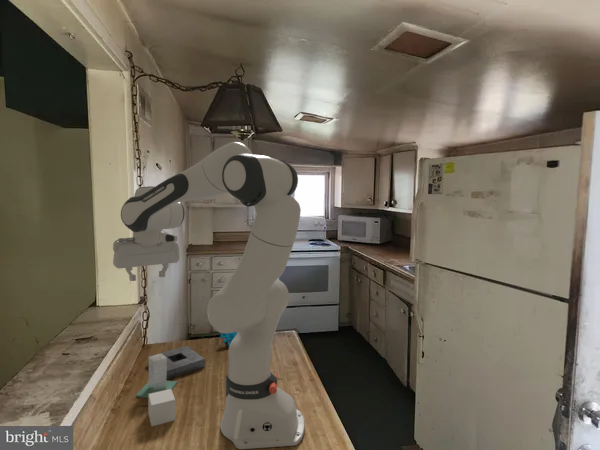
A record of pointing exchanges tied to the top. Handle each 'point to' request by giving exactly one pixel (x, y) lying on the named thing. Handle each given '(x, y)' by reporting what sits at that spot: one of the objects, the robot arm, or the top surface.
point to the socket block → (182, 361)
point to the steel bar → (157, 372)
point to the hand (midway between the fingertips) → (147, 278)
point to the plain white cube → (161, 407)
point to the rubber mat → (146, 391)
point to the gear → (228, 337)
